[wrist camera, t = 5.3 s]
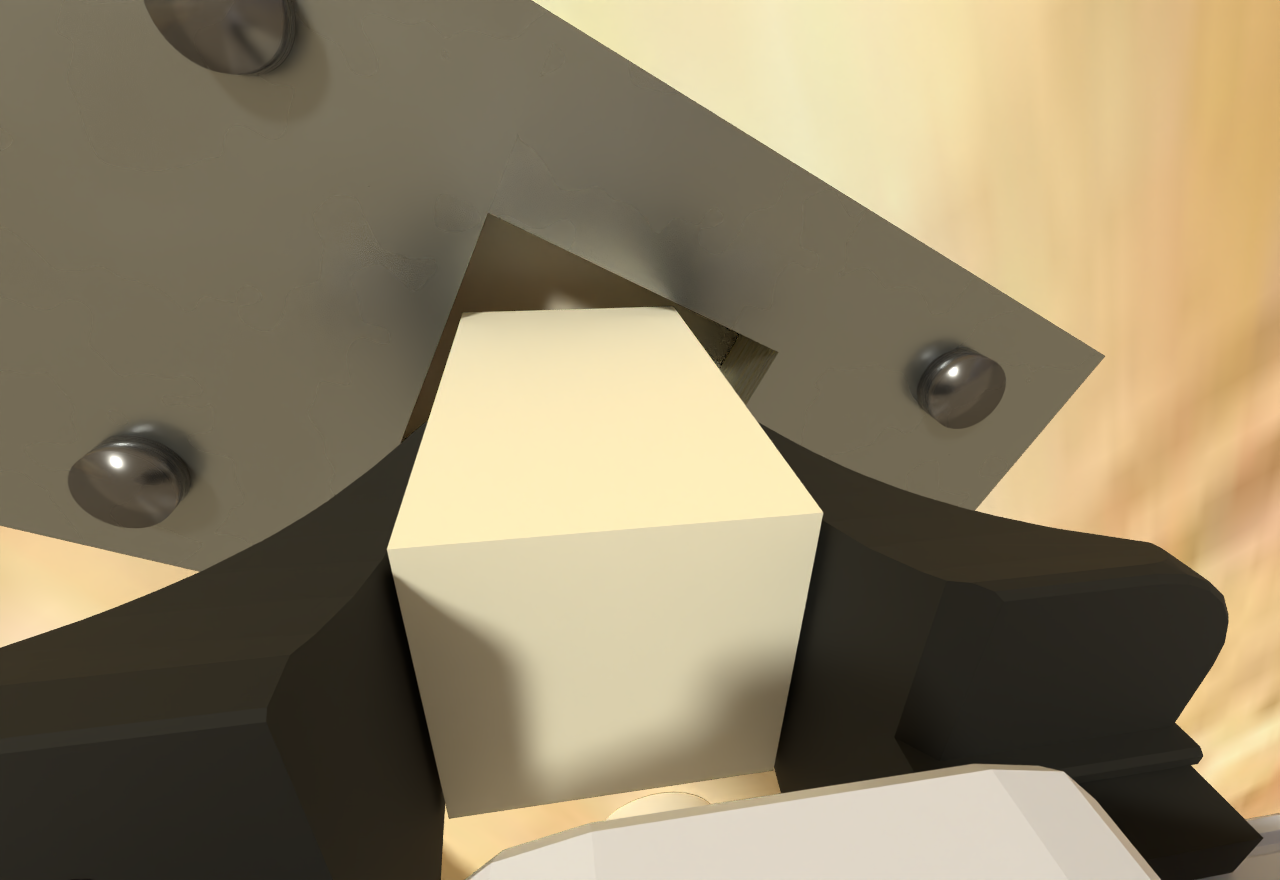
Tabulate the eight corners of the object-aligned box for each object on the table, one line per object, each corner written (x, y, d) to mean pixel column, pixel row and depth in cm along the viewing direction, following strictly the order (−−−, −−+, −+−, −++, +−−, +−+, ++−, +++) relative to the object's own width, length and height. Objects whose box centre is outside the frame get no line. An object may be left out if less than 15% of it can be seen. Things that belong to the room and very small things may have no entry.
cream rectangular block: (673, 306, 12) (823, 512, 6) (665, 479, 14) (772, 770, 8) (462, 313, 11) (386, 548, 5) (485, 492, 13) (448, 818, 7)
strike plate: (1039, 327, 15) (1128, 366, 13) (780, 657, 20) (813, 729, 17) (80, -258, 8) (-88, -393, 6) (11, 453, 13) (-100, 529, 10)
